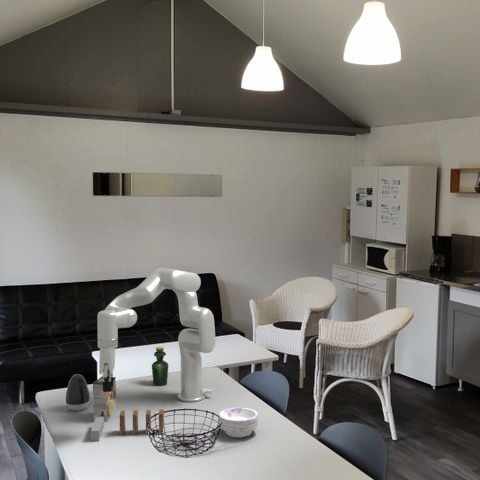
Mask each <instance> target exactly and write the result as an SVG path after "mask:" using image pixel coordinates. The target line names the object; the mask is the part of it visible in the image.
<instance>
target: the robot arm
mask: <svg viewBox="0 0 480 480" xmlns="http://www.w3.org/2000/svg"><path fill="white" fill-rule="evenodd" d="M201 282H202V281H201V277H200V276H199V275H198V274H197V273H195V272H192V271H191V272H190V271H184V270H179V269H173V268H165V267H159V268H156V269H154V271H152V272H151V273H150V274H149V275H148V276H147V277H146V278H145V279H144V280H143V281H142V282H141V283H139V285H138V286H137V287H135V288H133V289H130V290H129V291H126V292H124V293H122V294H119V295H118V296H116V297H115V298H114V299H113V300H112V301H111V302H110V303H109V304H108V305H107V306H106V307H105V308H104V310H100V311H99V312H98V313H97V348H99V362H98V363H99V364H98V365H99V367H98V372H99V375H102V377H103V392H111V387H113V377H114V370H115V365H116V362H115V361H116V348H118V347H119V344H118V342H119V341H118V340H119V338H118V336H119V335H118V333H119V332H118V330H119V329H125V328H131V327H133V326H134V325H135V324H136V323H137V320H138V315H137V312H136V311H135V310H134V309H132V308H135V307H141V306H145V305H148V304H151V303H153V301H154V300H156V299H157V297H159V295H161V293H162V292H163V291H164V290H167V289H168V290H172V291H173V292H174V293H175V295H176V296H177V300H178V311H179V321H180V323H181V325H182V326H184V327H188V328H184V329H182V330H181V331H180V332H179V334H178V338H177V342H178V347H179V355H180V392H179V393H178V394H177V399H178V400H179V401H182V402H186V403H187V402H189V403H191V402H192V403H193V402H199V401H202V400H204V399H205V398H206V394H207V395H211V394H213V390H212V388H211V389H210V388H204V387H203V383H202V382H203V381H202V380H203V377H202V376H203V374H202V373H203V362H202V361H203V360H202V355H201V354H202V353H203V354H209V353H211V352H213V350H214V349H215V346H216V329H215V328H216V327H215V318H214V316H215V315H214V314H213V311H211V310H210V309H209V308H207V307H202V306H199V302H198V296H197V295H198V294H197V291H199V289H200V287H201V284H202V283H201ZM108 372H110V373H108ZM108 375H109V376H108Z"/></svg>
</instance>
